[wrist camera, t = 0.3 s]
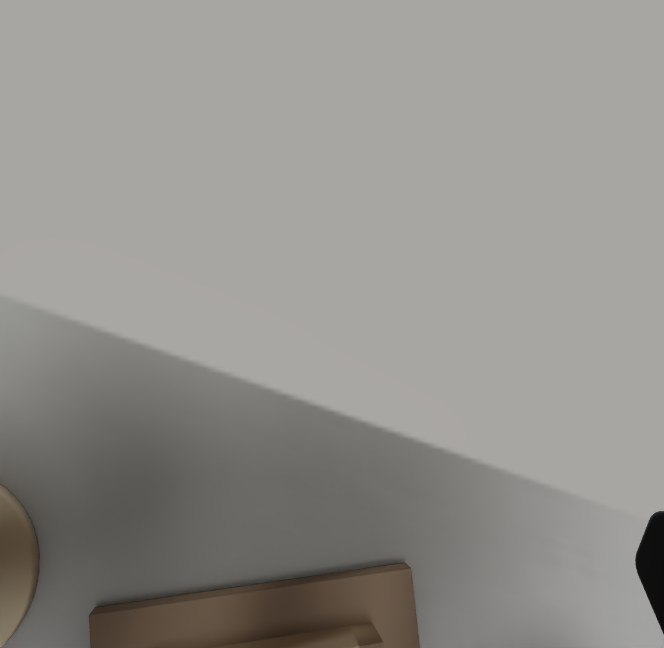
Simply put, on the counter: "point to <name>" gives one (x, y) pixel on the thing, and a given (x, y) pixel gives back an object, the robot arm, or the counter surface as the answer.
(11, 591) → the bobbin
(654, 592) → the robot arm
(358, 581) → the square recessed board
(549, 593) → the counter surface
